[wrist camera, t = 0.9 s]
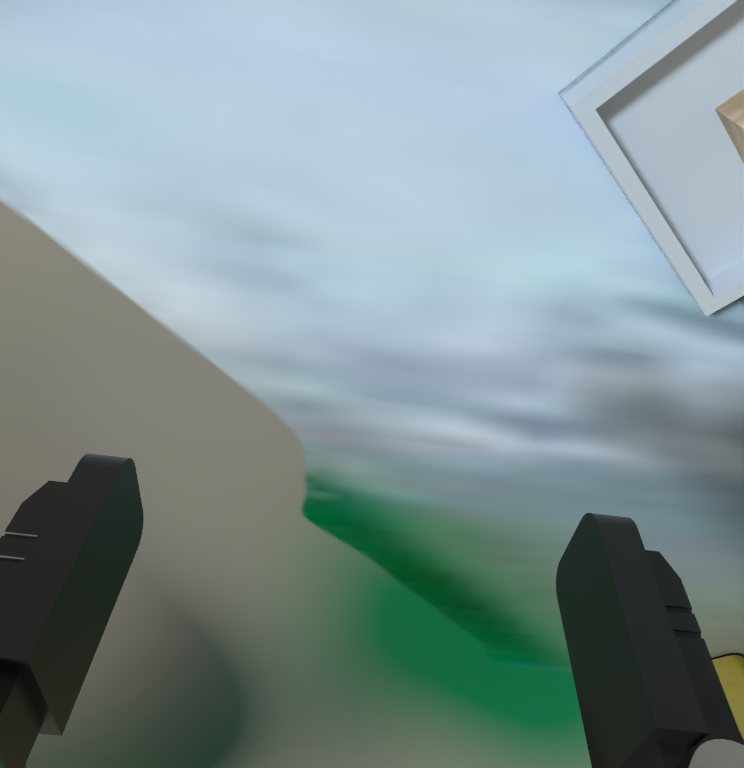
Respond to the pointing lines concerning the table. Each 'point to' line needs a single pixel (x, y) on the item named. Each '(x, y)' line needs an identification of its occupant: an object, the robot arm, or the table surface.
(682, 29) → the tray
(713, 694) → the robot arm
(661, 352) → the table surface
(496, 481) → the table surface
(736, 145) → the plug peg
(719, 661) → the flower pot
